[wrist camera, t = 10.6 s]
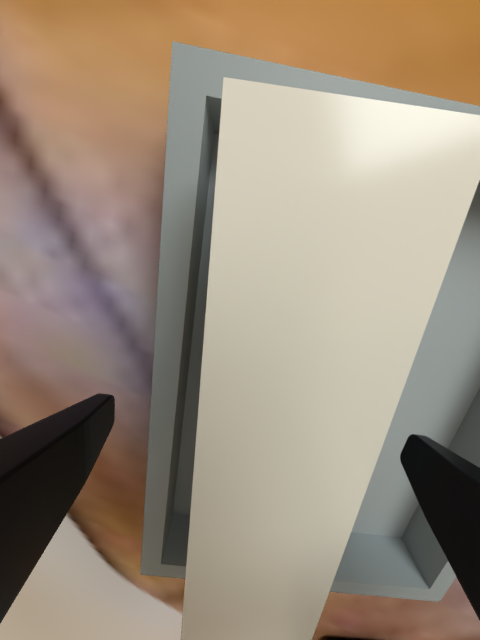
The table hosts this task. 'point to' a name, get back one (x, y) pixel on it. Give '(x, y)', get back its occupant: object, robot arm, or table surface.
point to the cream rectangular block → (309, 336)
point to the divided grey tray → (188, 335)
